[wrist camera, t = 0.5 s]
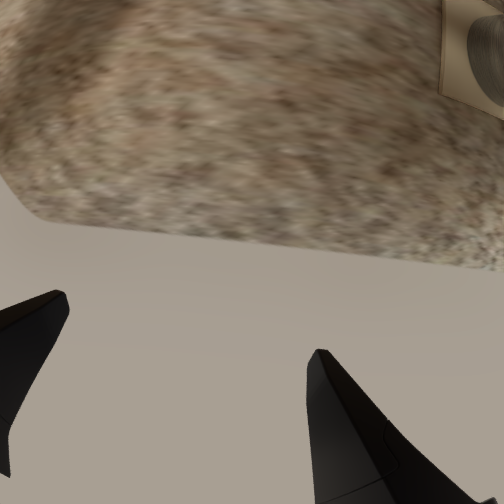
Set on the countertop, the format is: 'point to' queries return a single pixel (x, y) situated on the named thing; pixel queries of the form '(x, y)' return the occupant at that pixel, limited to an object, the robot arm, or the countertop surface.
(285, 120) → the countertop surface
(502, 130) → the countertop surface
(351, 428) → the robot arm
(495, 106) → the tan rectangular board
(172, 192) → the countertop surface
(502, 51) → the grey lidded jar
